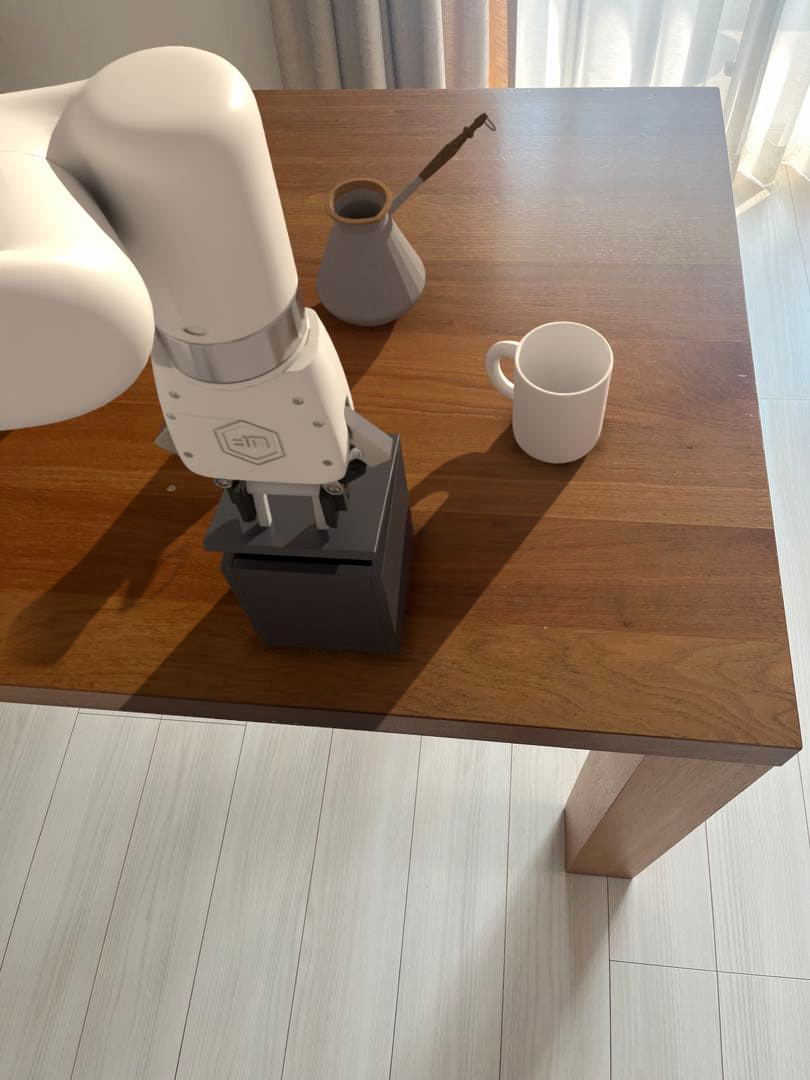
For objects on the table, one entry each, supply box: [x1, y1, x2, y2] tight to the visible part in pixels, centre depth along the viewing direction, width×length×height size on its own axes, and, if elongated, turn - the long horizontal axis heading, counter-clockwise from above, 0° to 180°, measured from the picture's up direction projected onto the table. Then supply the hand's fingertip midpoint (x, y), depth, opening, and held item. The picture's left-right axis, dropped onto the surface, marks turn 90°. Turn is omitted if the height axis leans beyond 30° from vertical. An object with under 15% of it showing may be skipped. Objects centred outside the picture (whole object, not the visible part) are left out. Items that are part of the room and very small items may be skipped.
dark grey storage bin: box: [219, 441, 415, 655], centre depth 71 cm, size 12×12×14 cm
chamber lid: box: [202, 432, 401, 560], centre depth 62 cm, size 13×12×5 cm
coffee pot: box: [315, 112, 497, 327], centre depth 89 cm, size 21×12×15 cm, turn 124°
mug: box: [484, 321, 614, 464], centre depth 80 cm, size 12×8×10 cm
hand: (294, 505), depth 60 cm, fingers closed on chamber lid, 5 cm apart
